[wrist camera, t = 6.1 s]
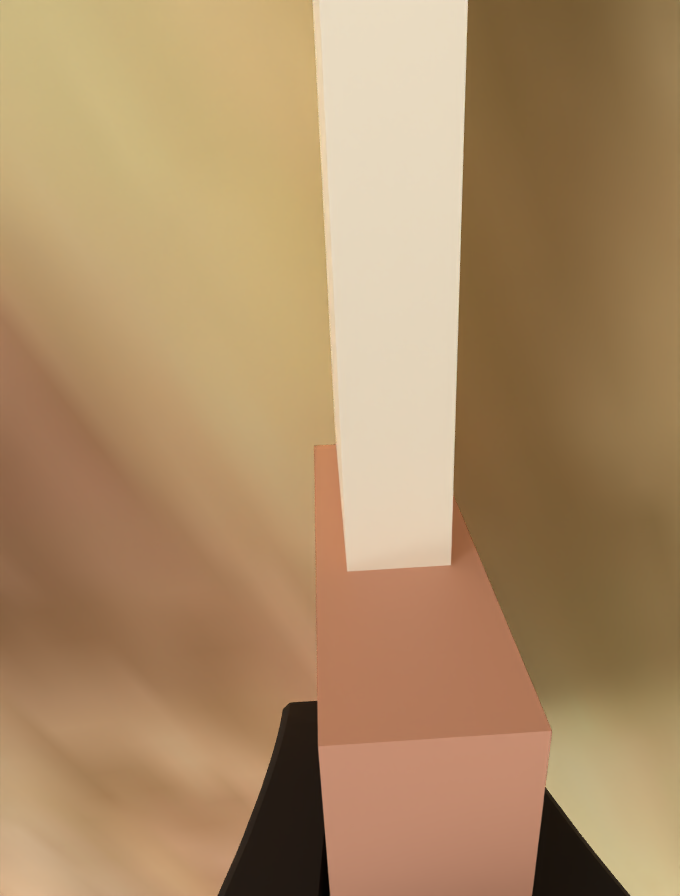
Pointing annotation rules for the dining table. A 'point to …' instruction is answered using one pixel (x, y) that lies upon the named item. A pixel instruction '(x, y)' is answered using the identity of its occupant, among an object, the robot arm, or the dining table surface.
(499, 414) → the dining table surface
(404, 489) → the cream pillar on pink
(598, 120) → the dining table surface
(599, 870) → the robot arm
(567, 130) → the dining table surface
